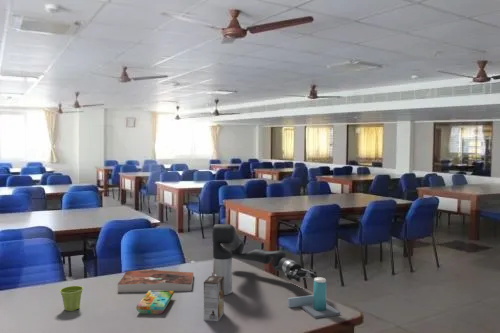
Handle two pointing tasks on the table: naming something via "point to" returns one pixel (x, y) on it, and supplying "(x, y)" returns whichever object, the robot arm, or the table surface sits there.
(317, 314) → the mat
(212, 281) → the coffee box
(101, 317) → the table surface
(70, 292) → the plant pot
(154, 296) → the puzzle game
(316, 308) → the jar
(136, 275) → the board game box
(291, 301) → the wall
